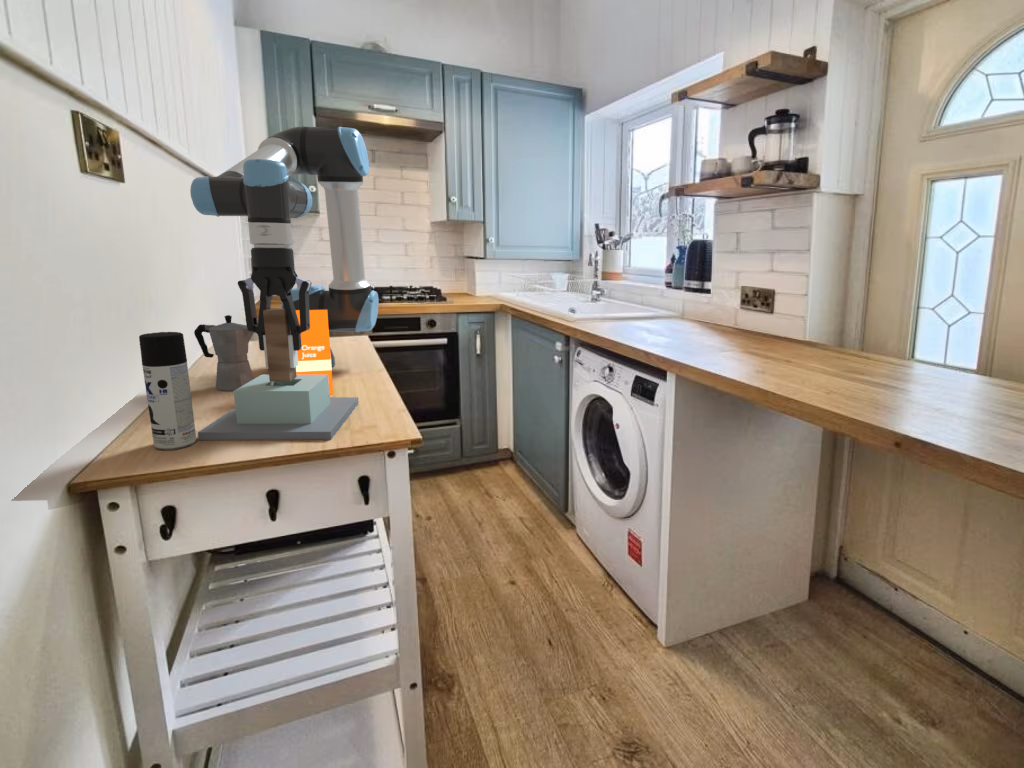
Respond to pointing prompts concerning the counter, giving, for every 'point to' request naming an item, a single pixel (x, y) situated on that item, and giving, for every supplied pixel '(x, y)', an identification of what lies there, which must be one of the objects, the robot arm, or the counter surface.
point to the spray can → (168, 390)
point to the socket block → (282, 411)
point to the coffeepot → (228, 353)
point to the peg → (278, 345)
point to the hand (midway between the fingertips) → (282, 366)
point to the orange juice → (315, 347)
